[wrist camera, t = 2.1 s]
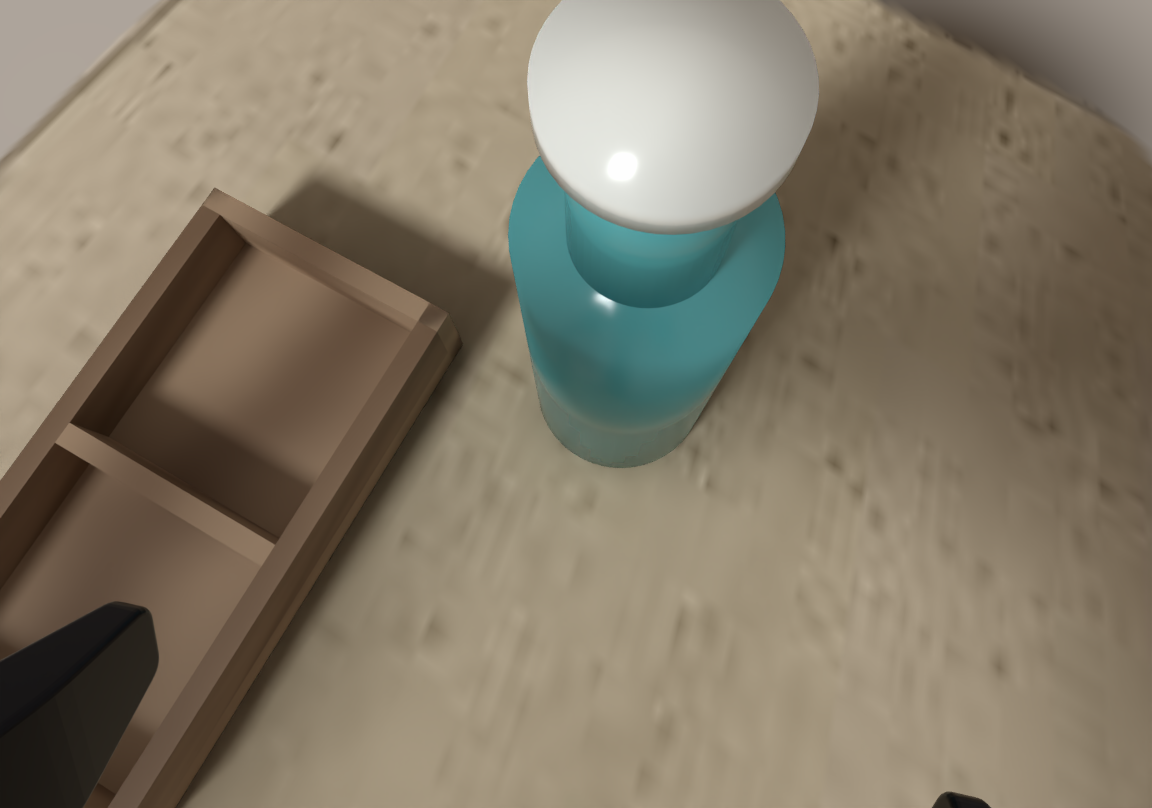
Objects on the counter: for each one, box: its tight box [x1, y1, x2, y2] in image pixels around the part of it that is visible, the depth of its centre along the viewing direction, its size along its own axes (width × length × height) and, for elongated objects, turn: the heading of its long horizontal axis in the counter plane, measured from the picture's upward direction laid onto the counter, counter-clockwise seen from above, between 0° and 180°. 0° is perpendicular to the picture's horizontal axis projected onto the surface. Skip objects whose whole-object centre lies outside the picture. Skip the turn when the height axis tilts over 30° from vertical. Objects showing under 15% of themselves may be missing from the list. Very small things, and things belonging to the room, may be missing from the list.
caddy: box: [0, 188, 463, 808], centre depth 22 cm, size 8×15×3 cm, turn 151°
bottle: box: [508, 0, 819, 468], centre depth 17 cm, size 5×5×14 cm
